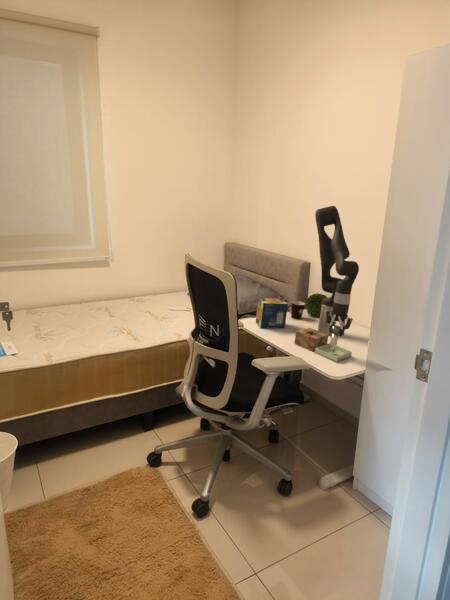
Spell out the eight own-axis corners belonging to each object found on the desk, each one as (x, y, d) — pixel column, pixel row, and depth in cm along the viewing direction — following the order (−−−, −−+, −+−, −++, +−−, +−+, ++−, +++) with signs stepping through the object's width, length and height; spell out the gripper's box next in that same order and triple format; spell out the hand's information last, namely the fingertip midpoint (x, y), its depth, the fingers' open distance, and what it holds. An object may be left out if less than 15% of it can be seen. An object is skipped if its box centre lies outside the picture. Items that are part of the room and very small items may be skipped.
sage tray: (329, 347, 205) (330, 343, 204) (351, 356, 196) (352, 351, 195) (314, 353, 197) (315, 347, 196) (336, 362, 187) (337, 357, 186)
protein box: (255, 322, 236) (258, 297, 231) (279, 322, 239) (282, 298, 235) (260, 328, 226) (263, 302, 222) (285, 328, 229) (288, 303, 225)
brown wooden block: (308, 339, 214) (310, 327, 212) (326, 347, 206) (328, 334, 204) (294, 343, 206) (296, 331, 205) (312, 351, 198) (314, 339, 196)
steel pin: (324, 350, 195) (329, 325, 192) (330, 348, 198) (336, 324, 195) (332, 353, 191) (338, 328, 188) (339, 352, 194) (344, 327, 192)
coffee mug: (301, 316, 256) (303, 301, 253) (304, 320, 247) (306, 305, 245) (283, 314, 255) (285, 300, 252) (286, 319, 247) (288, 304, 244)
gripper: (324, 298, 191) (319, 331, 196) (350, 306, 181) (344, 340, 186) (333, 297, 196) (328, 328, 201) (359, 304, 186) (352, 337, 190)
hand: (336, 334), depth 193 cm, fingers closed on steel pin, 5 cm apart
